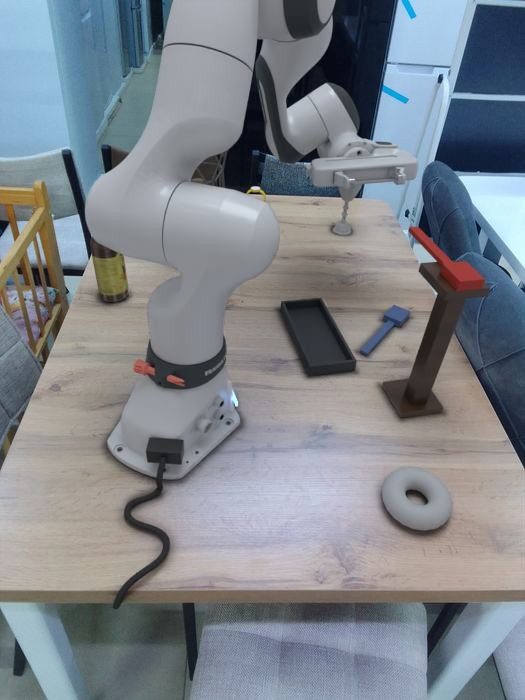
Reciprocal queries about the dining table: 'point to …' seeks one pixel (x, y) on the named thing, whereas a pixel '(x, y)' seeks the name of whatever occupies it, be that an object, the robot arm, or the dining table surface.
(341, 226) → the chalice
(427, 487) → the donut
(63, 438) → the dining table surface
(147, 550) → the dining table surface
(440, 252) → the red spoon
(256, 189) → the gold gemstone ring
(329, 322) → the tray
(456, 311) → the brown stand
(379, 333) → the blue spoon
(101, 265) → the sauce bottle
